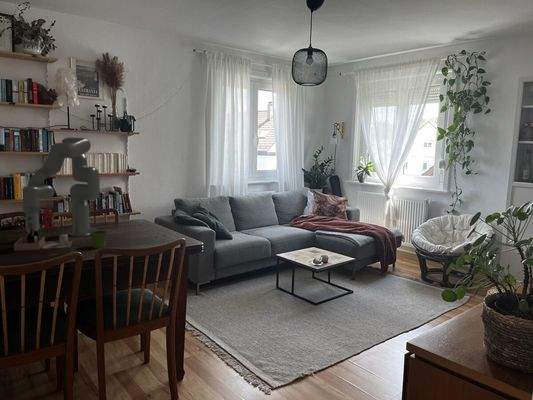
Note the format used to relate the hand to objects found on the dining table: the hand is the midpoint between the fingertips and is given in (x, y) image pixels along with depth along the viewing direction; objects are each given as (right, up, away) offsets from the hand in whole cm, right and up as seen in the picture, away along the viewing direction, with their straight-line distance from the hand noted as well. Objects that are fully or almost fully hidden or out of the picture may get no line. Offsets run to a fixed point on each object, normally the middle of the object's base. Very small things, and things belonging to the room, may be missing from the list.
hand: (32, 241), depth 215 cm
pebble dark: (0, -3, 0) cm, 3 cm away
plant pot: (+33, -4, +6) cm, 34 cm away
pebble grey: (+14, -3, +6) cm, 15 cm away
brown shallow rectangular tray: (-2, -4, +1) cm, 4 cm away
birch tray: (+10, -4, +5) cm, 12 cm away
